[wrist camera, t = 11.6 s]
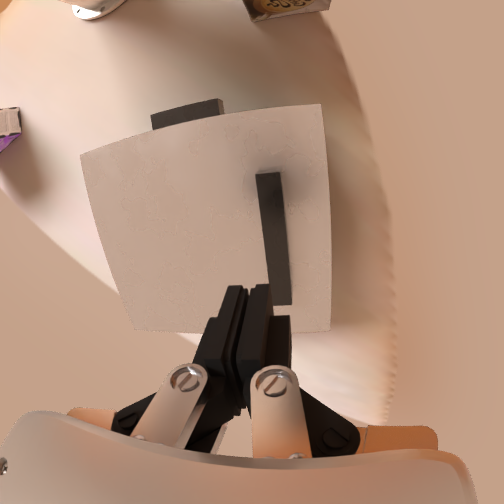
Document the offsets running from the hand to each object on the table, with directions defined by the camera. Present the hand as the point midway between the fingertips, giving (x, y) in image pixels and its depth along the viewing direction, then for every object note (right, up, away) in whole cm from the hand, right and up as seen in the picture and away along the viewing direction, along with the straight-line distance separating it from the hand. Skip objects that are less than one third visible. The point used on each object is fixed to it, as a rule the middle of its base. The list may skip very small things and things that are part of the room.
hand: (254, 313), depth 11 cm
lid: (-4, +4, +11) cm, 12 cm away
